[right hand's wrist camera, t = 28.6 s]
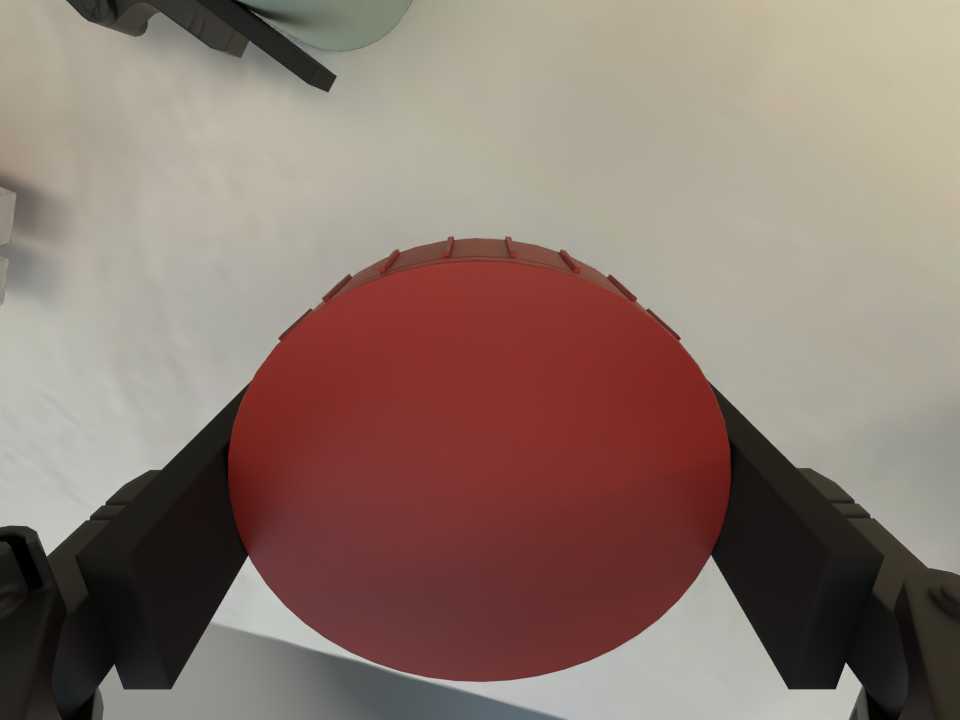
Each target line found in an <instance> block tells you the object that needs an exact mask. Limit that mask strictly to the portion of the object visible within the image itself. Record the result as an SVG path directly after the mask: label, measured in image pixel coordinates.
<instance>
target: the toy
mask: <svg viewBox="0 0 960 720" xmlns="http://www.w3.org/2000/svg"><path fill="white" fill-rule="evenodd" d="M16 194H17V193H15V192H12V191H9V190H6V189H4V188H1V187H0V245H2V244H6V243H9V242H11V236H12V228H13V219H14V211H15V202H16ZM8 262H9V259H8V258H5V257H2V256H0V305H1V304H3V303H4V296H5V287H6V279H7V270H8Z"/></svg>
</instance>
